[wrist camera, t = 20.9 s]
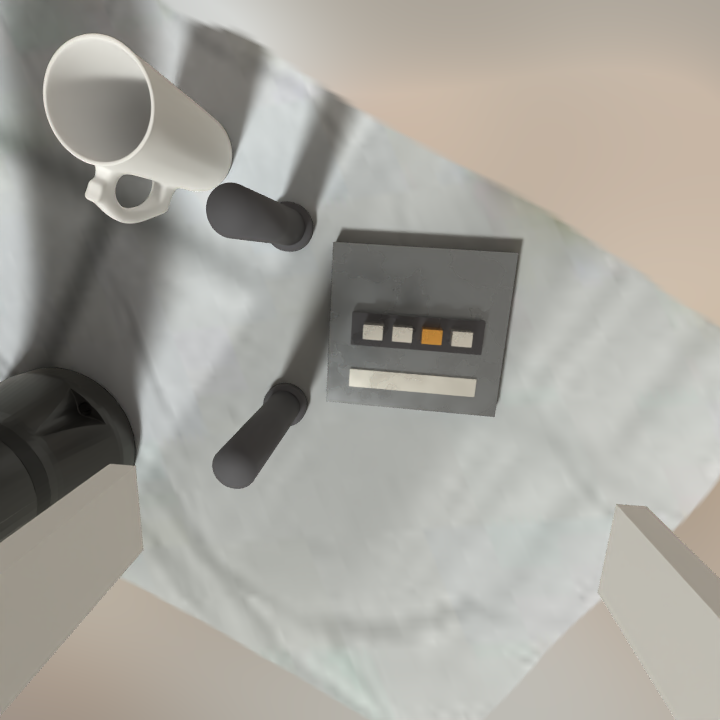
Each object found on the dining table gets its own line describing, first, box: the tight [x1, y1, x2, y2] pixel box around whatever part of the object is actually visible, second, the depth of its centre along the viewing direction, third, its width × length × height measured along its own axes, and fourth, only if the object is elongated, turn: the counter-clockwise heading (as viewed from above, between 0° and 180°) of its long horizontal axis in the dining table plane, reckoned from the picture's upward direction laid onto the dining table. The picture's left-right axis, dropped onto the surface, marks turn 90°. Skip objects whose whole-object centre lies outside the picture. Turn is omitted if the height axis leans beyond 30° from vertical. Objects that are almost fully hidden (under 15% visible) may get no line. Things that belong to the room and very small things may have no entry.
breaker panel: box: [326, 242, 518, 417], centre depth 36 cm, size 15×14×3 cm
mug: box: [43, 33, 232, 223], centre depth 30 cm, size 10×7×12 cm, turn 157°
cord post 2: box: [212, 383, 307, 489], centre depth 34 cm, size 4×4×13 cm
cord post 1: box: [206, 183, 313, 252], centre depth 30 cm, size 4×4×13 cm
